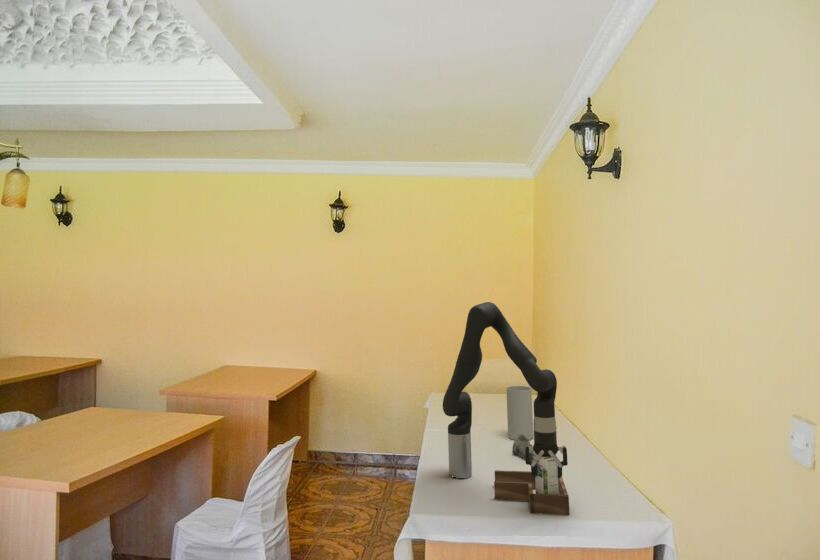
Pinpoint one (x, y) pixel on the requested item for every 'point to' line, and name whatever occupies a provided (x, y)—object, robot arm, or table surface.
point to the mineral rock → (522, 446)
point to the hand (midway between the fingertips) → (546, 477)
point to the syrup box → (546, 476)
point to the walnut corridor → (530, 492)
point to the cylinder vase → (519, 411)
